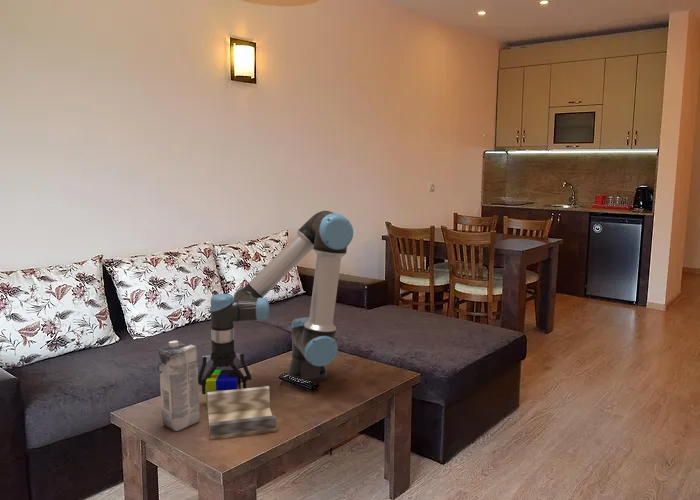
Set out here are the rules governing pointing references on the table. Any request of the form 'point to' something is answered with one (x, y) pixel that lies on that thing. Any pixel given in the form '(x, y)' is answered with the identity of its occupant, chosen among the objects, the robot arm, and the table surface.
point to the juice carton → (179, 385)
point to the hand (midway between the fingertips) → (224, 400)
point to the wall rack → (240, 412)
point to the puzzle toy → (222, 381)
